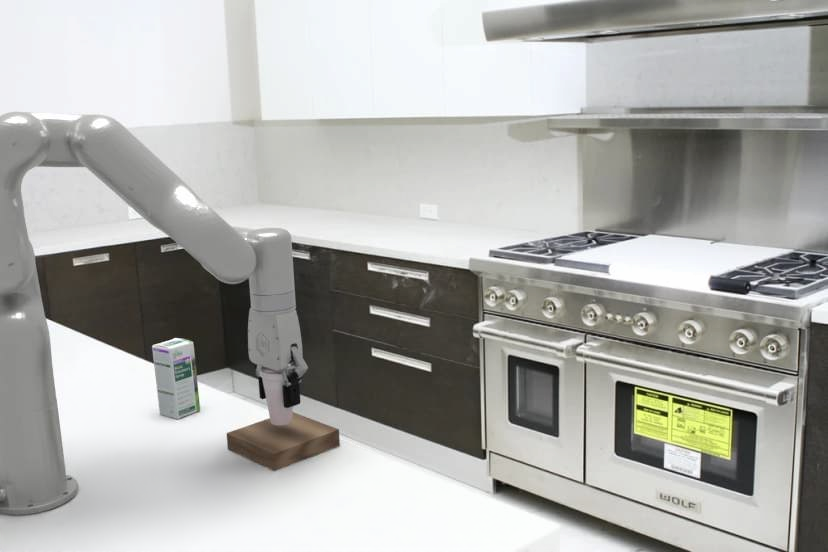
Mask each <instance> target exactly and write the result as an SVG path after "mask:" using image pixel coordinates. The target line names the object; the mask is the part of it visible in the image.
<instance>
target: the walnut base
mask: <svg viewBox="0 0 828 552" xmlns="http://www.w3.org/2000/svg"><path fill="white" fill-rule="evenodd" d="M226 441H227V450H228V451H231V452H234V453H236V454H237V455H240V456H241V457H245V458H247V459H248V460H251V461H253V462H255V463H258V464H259V465H261V466H264V467H266V468H268V469H270V470H273V471H274V472H276V471H279V470H281V469H284V468H286V467H289V466H292V465H294V464H297V463H299V462H301V461H303V460H306V459H309V458H311V457H314V456H317V455H319V454H322V453H324V452H327V451H329V450H332V449H335V448H336V447H339V446H340V445H341V444H340V443H341V442H340V441H341V439H340V429H339V428H336V427H333V426H331V425H328V424H327V423H326V424H325V423H324V422H320V421H318V420H315V419H314V418H313V419H312V418H310V417H308V416H305V415H301V414H299V413H296V412H294V411H293V414H292V422H291V423H289V424H286V425H273V424H271V421H270V417H269V418H266V419H263V420H261V421H258V422H255V423H252V424H249V425H246V426H243V427H240V428H237V429H234V430H231V431H229V432H226Z"/></svg>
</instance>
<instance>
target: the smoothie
mask: <svg viewBox="0 0 828 552" xmlns="http://www.w3.org/2000/svg"><path fill="white" fill-rule="evenodd" d="M288 366H291V364H289V365H288ZM292 373H293V371H292V369H291V370H288V374H289V377H290V375H291V374H292ZM259 377H261V378H262V380H263V385H264V390H265V395H266V398H265V400H266V405H267V409H268V415H269V418H270V421H271V424H273V425H286V424H289V423H291V422H292V414H293V412H294V406H292V407H290V408H285V407H284V403H283V389H282V386H283V385H285V383H284V380H283V377H282V373H281V371H275V370H272V369H268V368H265V367H262V368H261V369H260V376H259Z"/></svg>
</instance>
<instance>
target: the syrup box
mask: <svg viewBox="0 0 828 552" xmlns="http://www.w3.org/2000/svg"><path fill="white" fill-rule="evenodd" d="M151 349H152V358H153V366H154V374H155V375H154V376H155V385H156V393H157V402H158V409H159V414H160V415H162V416H164V417H167V416H168V417H167V418H170V417H172V419H174V418H175V419H174V420H177V419H178V420H180V419H181V418H184V417H187V416H189V415H192V414H195V413H198V412H200V411H201V403H200V396H199V395H200V393H199V386H198V385H199V384H198V375H197V373H198V372H197V365H196V355H195V346H194V342H193V341H192V340H189V339H185V338H178V337H174V338H172V339H170V340H166V341H162V342H160V343H156V344H153V345H152V346H151Z"/></svg>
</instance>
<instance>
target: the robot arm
mask: <svg viewBox="0 0 828 552" xmlns="http://www.w3.org/2000/svg"><path fill="white" fill-rule="evenodd" d="M36 167H38V168H39V167H40V168H41V167H43V168H44V167H45V168H86V169H87V170H88V171H90V172H91V173H92V174H93V175H94V176H95V177H96V178H98V180H100V181H101V182H102V183H103V184H104V185H105V186H107V187H108V188H109V189H110V190H111V191H113V192H114V194H116V195H117V196H118V197H119V198H120V199H122V201H124V203H126V204H127V205H128V206H129V207H131V209H133V210H134V211H135V212H136V214H138V215H139V216H141V218H142V219H144V220H145V221H147V223H149V224H150V225H152V227H154V228H156V229H158V230H159V231H161V232H162V233H163V234H165V235H166V236H168V237H169V238H170V239H171V240H173V241H174V242H175V243H176V244H177V245H179V246H180V247H181V248H182V249H184V250H185V251H186V252H187V253H188V254H189V255H191V257H193V258H194V259H195V260H196V261H197V262H199V263H200V265H201V266H202V268H203V269H204V270H206V271H207V272H209V274H211V275H212V276H213V277H215V278H216V279H217V280H218V281H220V282H221V283H225V284H228V285H236V284H240V283H242V282H245V281H246V280H248V283H249V296H250V308H249V311H248V319H247V320H248V322H247V324H248V325H247V342H248V343H247V349H248V358H249V360H250V362H251V363H253V366H254V368H255V375H256V376H257V377H258V380H257V381H258V390H259V391H258V393H259V399H261V400H266V395H265V390H264V385H263V380H262V378H261V377H260V369H261V368H262V367H265V368H268V369H272V370H275V371H281V373H282V377H283V380H284V383H285V385H283V386H282V389H283V403H284V407H285V408H290V407H292V406H293V407H296V406H298V405H300V404H301V392H300V391H301V390H300V387H301V386H300V383H302V379H303V378H304V375H305V374H306V372H307V371H308V369H309V367H308V364H307V363H306V361H305V359H304V358H303V344H302V343H303V342H302V335H301V334H302V332H301V326H300V322H299V316H298V314H297V310H296V308H297V303H296V290H295V289H296V288H295V287H296V286H295V275H294V271H295V270H294V260H293V259H294V258H293V243H292V242H293V241H292V236H291V233H290V232H289V230H287V229H286V228H282V227H281V228H280V227H266V228H265V227H264V228H257V229H254V230H250V231H249V230H248V231H247V230H242V231H241V230H235V228H233V227H232V226H231V225H230V224H229V222H227V221H225V219H223V218H222V217H221V215H220V214H218V213H217V212H216V211H215V210H214V209H213V208H211V207H210V206H209V205H208V204H207V203H206V202H205V201H204V200H203V199H202V198H201V197H199V196H198V194H196V192H195V191H194V190H193V189H192V188H191V187H190V186H189V185H188V184H187V183H186V182H185V181H184V180H183V179H182V178H181V177H179V176H178V175H177V174H176V173H175V172H174V171H173V170H172V169H171V168H169V166H167V165H166V163H164V162H163V161H162V160H161V159H160V158H159V157H157V156H156V155H155V153H154V152H152V151H151V150H150V149H149V148H148V147H147V146H146V145H145V144H144V143H143V142H142V141H141V140H139V139H138V137H137V136H135V135H134V134H133V133H132V132H131V131H130V130H128V128H126V127H125V126H124V125H123V124H122V123H121V122H119V121H118V120H116V118H113V117H111V116H107V115H104V114H103V115H102V114H66V113H65V114H63V113H62V114H61V113H43V112H28V111H10V112H6V113H4V114H1V115H0V513H1V514H4V515H9V516H10V515H11V516H13V515H15V516H17V515H18V516H20V515H21V516H22V515H31V514H36V513H41V512H45V511H49V510H51V509H55V508H57V507H59V506H61V505H64V504H66V503H67V502H69V501H70V500H71V499H73V498H74V497H75V496H76V494H78V492H79V483H78V480H77V479H76V478H75V477H73V476H71V475H68V474H67V473H66V464H65V463H66V462H65V454H64V447H63V446H64V445H63V438H62V431H61V423H60V417H59V416H60V414H59V408H58V399H57V398H58V397H57V392H56V391H57V390H56V385H55V377H54V367H53V357H52V346H51V345H52V344H51V335H50V331H49V330H50V329H49V325H48V321H47V318H46V315H45V314H46V313H45V311H44V310H45V309H44V304H43V300H42V293H41V287H40V282H39V277H38V276H39V275H38V271H37V270H38V269H37V266H36V264H37V263H36V256H35V251H34V247H33V244H32V242H31V241H30V238H29V234H28V229H27V228H28V227H27V223H26V218H25V208H24V201H23V196H22V195H23V194H22V184H23V180H24V178H25V176H26V174H27V173H28V172H29V171H30V170H32V169H34V168H36ZM289 364H291V366H288V365H289ZM291 369H292V371H293V373H292V374H291V375H290V377H289V374H288V370H291Z"/></svg>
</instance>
